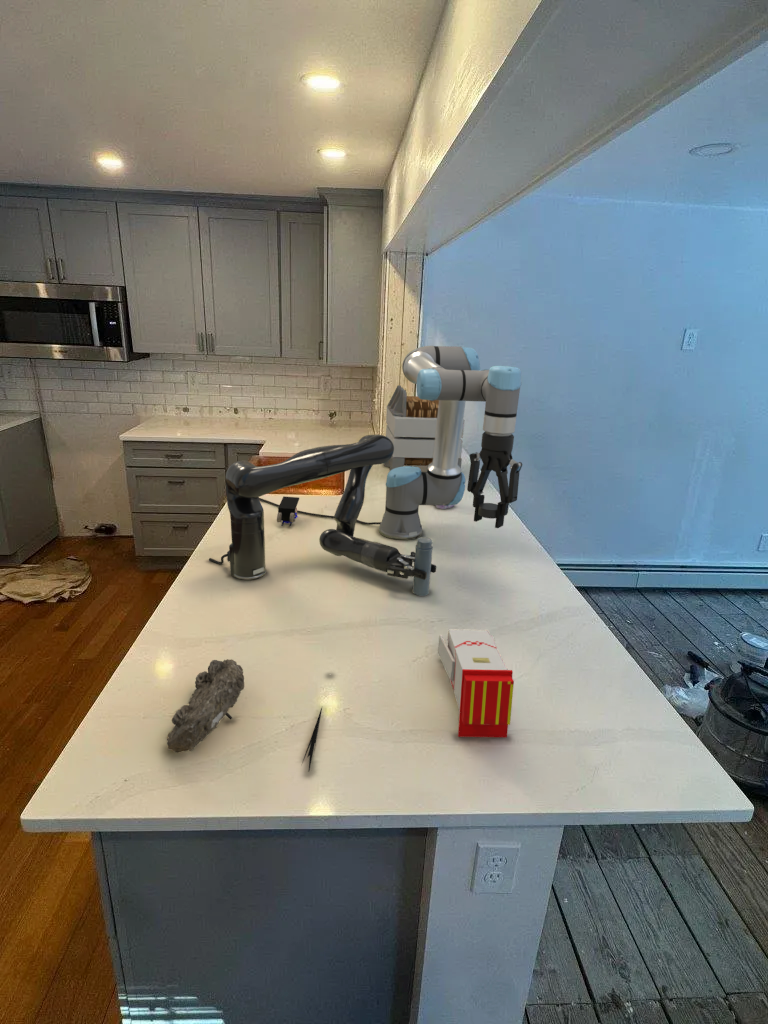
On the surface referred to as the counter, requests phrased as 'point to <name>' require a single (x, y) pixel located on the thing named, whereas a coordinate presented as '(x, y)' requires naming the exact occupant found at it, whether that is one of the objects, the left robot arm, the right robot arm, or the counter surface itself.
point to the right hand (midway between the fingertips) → (488, 523)
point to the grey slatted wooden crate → (412, 430)
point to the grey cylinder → (423, 565)
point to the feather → (313, 740)
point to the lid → (487, 510)
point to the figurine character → (287, 510)
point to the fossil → (206, 705)
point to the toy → (478, 682)
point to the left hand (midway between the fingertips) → (430, 572)
